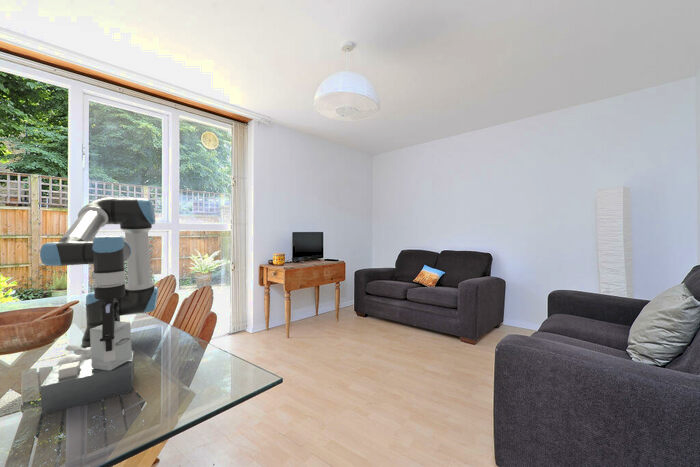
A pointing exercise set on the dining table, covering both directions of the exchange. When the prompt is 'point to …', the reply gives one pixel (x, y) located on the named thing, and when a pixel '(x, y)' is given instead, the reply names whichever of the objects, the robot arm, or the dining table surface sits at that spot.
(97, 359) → the supplement box
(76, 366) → the block
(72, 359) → the rabbit
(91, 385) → the block
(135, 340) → the dining table surface
